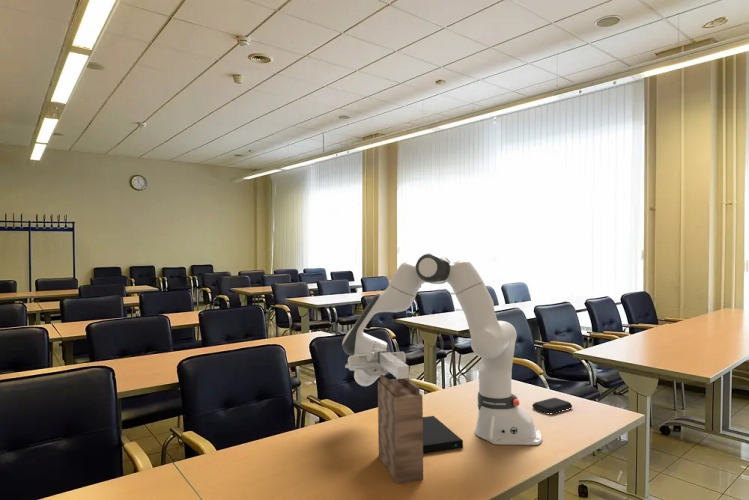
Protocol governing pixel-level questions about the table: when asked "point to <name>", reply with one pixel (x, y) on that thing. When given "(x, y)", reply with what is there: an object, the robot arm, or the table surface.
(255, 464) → the table surface
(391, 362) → the bar
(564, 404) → the black microchip
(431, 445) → the external hard drive
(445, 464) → the table surface
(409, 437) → the block
